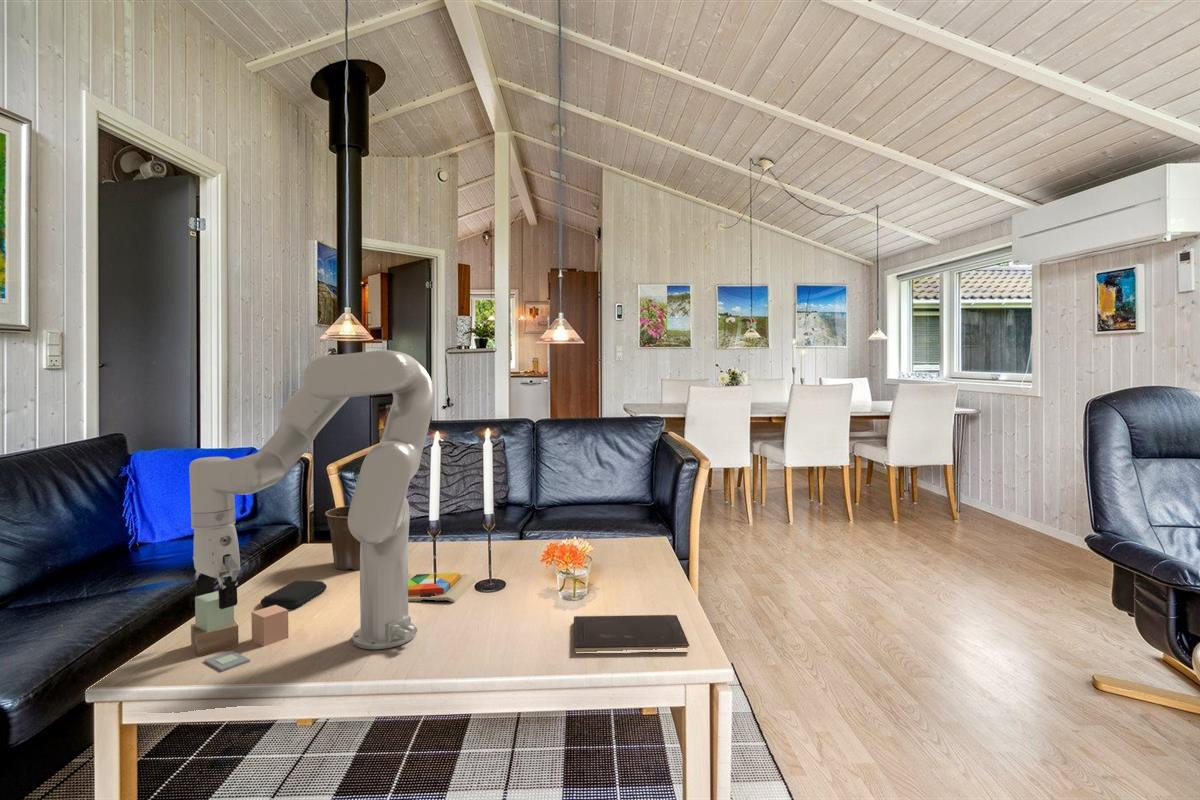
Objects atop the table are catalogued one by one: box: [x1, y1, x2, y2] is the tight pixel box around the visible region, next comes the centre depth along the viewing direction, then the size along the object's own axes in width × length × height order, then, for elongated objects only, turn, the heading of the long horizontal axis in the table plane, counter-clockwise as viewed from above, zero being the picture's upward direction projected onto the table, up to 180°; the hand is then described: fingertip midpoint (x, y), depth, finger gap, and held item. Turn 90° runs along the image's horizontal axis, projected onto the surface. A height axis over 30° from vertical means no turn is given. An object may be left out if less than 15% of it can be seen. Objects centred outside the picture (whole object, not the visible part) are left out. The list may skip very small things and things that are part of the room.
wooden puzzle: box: [408, 572, 476, 603], centre depth 157 cm, size 18×19×4 cm
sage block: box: [194, 590, 235, 632], centre depth 123 cm, size 5×5×6 cm
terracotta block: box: [251, 605, 290, 647], centre depth 127 cm, size 5×5×6 cm
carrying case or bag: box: [259, 580, 327, 610], centre depth 150 cm, size 11×3×15 cm
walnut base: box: [190, 620, 240, 657], centre depth 123 cm, size 7×7×4 cm
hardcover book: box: [573, 614, 690, 653], centre depth 128 cm, size 16×23×2 cm
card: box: [203, 649, 251, 672], centre depth 116 cm, size 7×5×1 cm
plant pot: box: [324, 505, 361, 571], centre depth 178 cm, size 16×16×16 cm
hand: (216, 602), depth 123 cm, fingers open, 9 cm apart
